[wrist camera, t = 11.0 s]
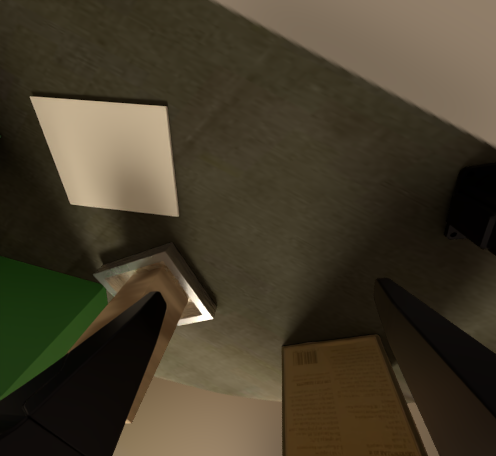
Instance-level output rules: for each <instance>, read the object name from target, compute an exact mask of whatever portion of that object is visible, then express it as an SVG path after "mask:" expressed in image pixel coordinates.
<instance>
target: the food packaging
mask: <svg viewBox="0 0 496 456" xmlns="http://www.w3.org/2000/svg"><path fill="white" fill-rule="evenodd" d="M282 455H283V456H428V455H427V452H426V449H425V447H424V444H423V442H422V439H421V437H420V434H419V432H418V429H417V427H416V424H415V422H414V420H413V417H412V415H411V412H410V410H409V408H408V406H407V403H406V400H405V398H404V396H403V393H402V391H401V388H400V386H399V383H398V381H397V378H396V376H395V373H394V371H393V368H392V366H391V363H390V361H389V359H388V356H387V354H386V351H385V349H384V346H383V344H382V341H381V338H380V336H379V335H377V334H375V335H367V336H359V337H352V338H344V339H336V340H327V341H320V342H308V343H302V344H297V345H289V346H282Z"/></svg>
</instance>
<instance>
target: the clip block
mask: <svg viewBox="0 0 496 456" xmlns="http://www.w3.org/2000/svg"><path fill="white" fill-rule="evenodd" d="M152 291H159V292H160V293H161V294H162V296H163V298H164V300H165V302H166V304H167V309H166V313H165V316H164V320H163V323H162V327H161V330H160V334H159V337H158V340H157V343H156V346H155V348H154V351H153V354H152V356H151V359H150V361H149V364H148V366H147V369H146V371H145V374H144V376H143V379H142V382H141V384H140V387H139V389H138V392H137V394H136V397H135V399H134V402H133V404H132V407H131V410H130V412H129V415H128V417H127V420H126V422H125V423H132V422H133V419H134V417H135V415H136V413H137V411H138V408H139V406H140V404H141V402H142V400H143V398H144V395H145V393H146V391H147V389H148V387H149V384H150V382H151V380H152V378H153V376H154V374H155V372H156V369H157V367H158V365H159V363H160V361H161V359H162V356H163V354H164V352H165V350H166V348H167V346H168V343H169V341H170V339H171V337H172V335H173V333H174V330H175V328H176V326H177V324H178V322H179V320H180V317H181V315H182V313H183V311H184V309H185V307H186V304H187V302H188V299H187V298H186V297H185V295H184V294H183V293H182V291H181V290H180V288H179V287H178V286H177V284H176V283H175V282H174V280H173V279H172V278H171V276H170V275H169V274H168V272H167V271H166V270H165V268H164V267H160V268H156V269H153V270H149V271H146V272H142V273H139V274H135V275H132V276H131V277H130V278H129V280H128V281H127V282H126V283H125V284H124V286H123V287H122V288H121V289H120V290H119V292H118V293H117V294H116V295H115V296H114V297H113V299H112V300H111V301H110V302H109V303H108V305H107V306H106V307H105V308H104V309H103V311H102V312H101V313H100V314H99V315H98V316H97V318H96V319H95V320H94V321H93V322H92V324H91V325H90V326H89V327H88V328H87V330H86V331H85V332H84V333H83V334H82V336H81V337H80V338H79V339H78V340H77V341H76V343H75V344H74V345H73V346H72V347H71V349H70V350H69V351H68V352H67V353H69V352H70V351H71V350H73V349H74V348H75V347H77V346H78V345H79V344H81V343H82V342H83V341H85V340H86V339H87V338H89V337H90V336H91V335H93V334H94V333H95V332H97V331H98V330H99V329H101V328H102V327H103V326H105V325H106V324H108V323H109V322H110V321H112V320H113V319H114V318H116V317H117V316H118V315H120V314H121V313H122V312H124V311H125V310H126V309H128V308H129V307H130V306H132V305H133V304H134V303H136V302H137V301H138V300H140V299H141V298H142V297H144V296H145V295H146V294H148V293H149V292H152ZM67 353H66V354H67Z"/></svg>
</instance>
